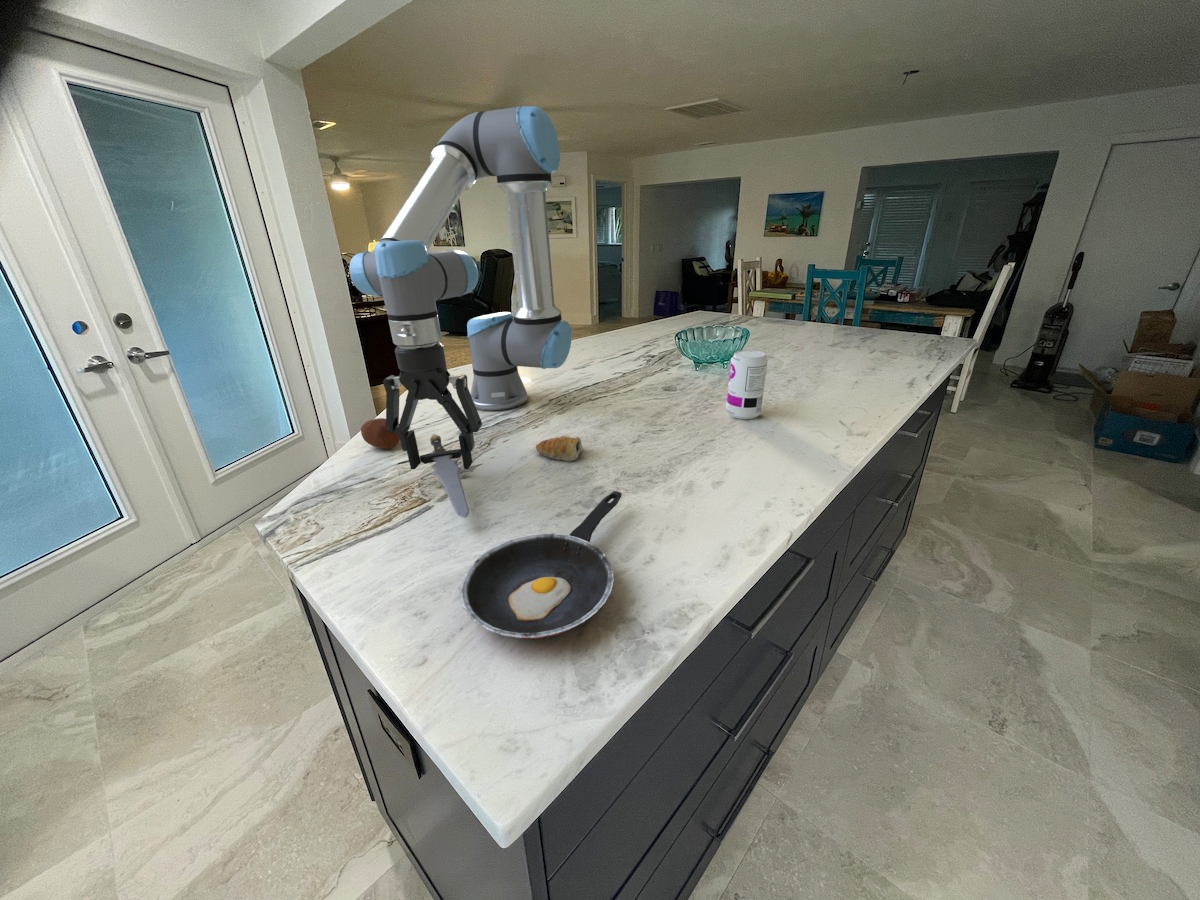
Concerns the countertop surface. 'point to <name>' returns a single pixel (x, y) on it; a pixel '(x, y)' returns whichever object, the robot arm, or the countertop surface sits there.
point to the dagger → (448, 474)
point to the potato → (379, 434)
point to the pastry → (560, 448)
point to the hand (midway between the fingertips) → (442, 465)
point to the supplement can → (746, 384)
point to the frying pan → (540, 581)
